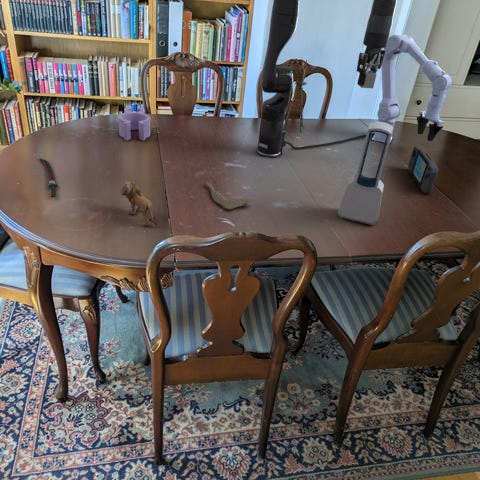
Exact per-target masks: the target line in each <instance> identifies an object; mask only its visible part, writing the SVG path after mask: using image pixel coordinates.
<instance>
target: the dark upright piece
mask: <svg viewBox="0 0 480 480" xmlns="http://www.w3.org/2000/svg"><path fill="white" fill-rule="evenodd" d="M307 62H308V60H307V59H306V60H305V62H304V63H305V64H304V69H303V68H301V69H300V68H299V67H297V66H292V68H291V70H292V73H299V72H301V73H300V76H299V80H296V81H295V84H294V85H297V86H296V87H295V91H294V94H293V97H292V100H291V103H290V106H289V109H288V112H287V113H286V117H285V123H284V130H285V128H286V126H287V124H288V123H293V124H299V132H302V127H303V126H304V120H305V119H304V115H303V114H304V110H303V109H304V107H303V104H304V103H303V102H304V101H303V100H304V98H303V96H304V95H303V90H304V88H303V86H307V84H308V82H307V81H304V80H305V76H306V68H307V64H308V63H307ZM297 92H300V96H296V95H297ZM295 101H297V102H300V106H298V105H293V104H294V102H295ZM292 108H298V109H292ZM299 109H300V110H299ZM291 111H293V112H299V113H300V114H299V115H300V116H299V117H297V116H291V115H290V114H291ZM289 118H291V119H292V118H294V119H299V122H297V121H291V120H289Z"/></svg>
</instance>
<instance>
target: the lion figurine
mask: <svg viewBox="0 0 480 480" xmlns="http://www.w3.org/2000/svg"><path fill="white" fill-rule="evenodd" d="M119 193H120V194H121V196H122V197H124V196H125V198H126V199H127V200H128V202H129V203H130V207H131V211H130V212H129V213H130V215H135V214H136V211H137V212H141V214H142V216H143V218H144V219H145V223H144V225H145V227H149V226H150V221H152V223H153V225H155V226H159V222H156V221H155V219H154V217H153V216H154V215H153V204H152V202H151V200H150V199H148V198H146V197H145V196H144V195H143V194H142V192H141V190H140V187H138V185H136V184H135V183H133V182H132V181H125V182H124V186H122V188H121V189H119ZM136 207H137V208H136ZM148 214H149V216H148Z"/></svg>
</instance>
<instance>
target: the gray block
mask: <svg viewBox="0 0 480 480" xmlns="http://www.w3.org/2000/svg"><path fill="white" fill-rule="evenodd" d="M359 75H360V73H359V74H358V76H359ZM376 78H377V72H376V73H374V72H373V71H371V70H370V69H369V70H368V72H367V76H366V80H365V84H364V86H360V85H358V81H357V83H356V84H357V85H358V86H359V87H360V88H361V89H374V87H375V83H376ZM358 79H359V77H358V78H357V80H358Z"/></svg>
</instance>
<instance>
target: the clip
mask: <svg viewBox="0 0 480 480" xmlns="http://www.w3.org/2000/svg"><path fill="white" fill-rule="evenodd" d="M132 109H133V108H132V107H131V106H128V107H125V108H124V110H123V113H120V114H119V115H118V116H117V117H118V118H117V119H118V135H119V136H120V137H121V138H123V139H124V141H129V140H131V139H132V134H131V131H132V130H133V131H134V130H135V131H138V140H140V141H142V142H143V141H146V139H147V138H149V137H150V136H151V116H150V115H149V114H147V113H146V111H145V109H144V108H143V107H139V106H138V107H136V109H137V111H135V112H134V111H132Z"/></svg>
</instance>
